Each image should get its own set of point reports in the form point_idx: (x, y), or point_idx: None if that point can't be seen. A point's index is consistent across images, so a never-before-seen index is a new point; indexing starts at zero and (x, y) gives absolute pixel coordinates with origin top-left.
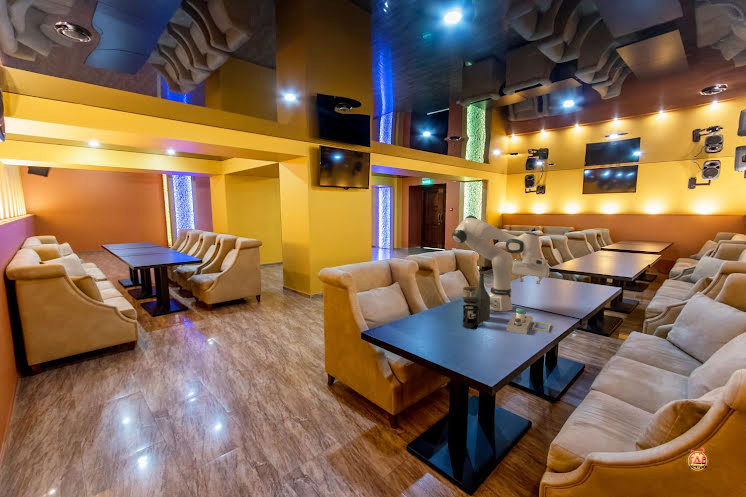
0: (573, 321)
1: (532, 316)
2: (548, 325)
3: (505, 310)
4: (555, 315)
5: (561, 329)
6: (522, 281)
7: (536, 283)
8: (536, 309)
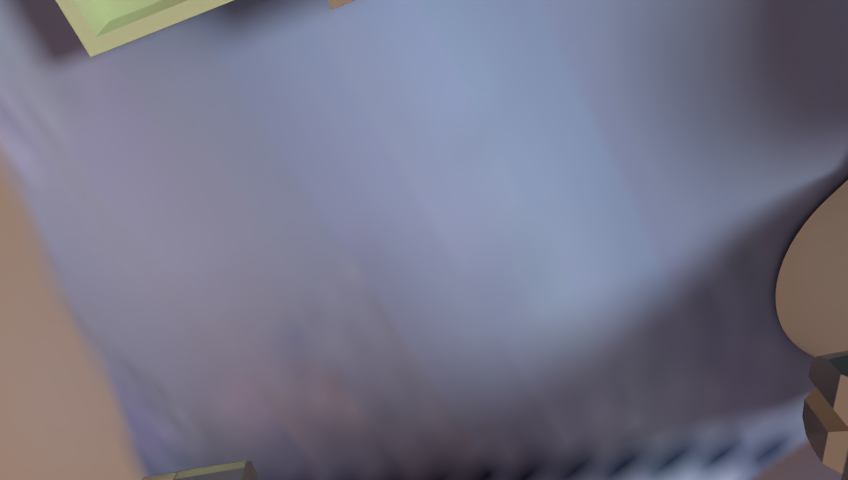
0: (129, 422)
1: (336, 6)
2: (113, 25)
3: (830, 200)
4: (347, 449)
5: (5, 100)
6: (828, 384)
7: (238, 467)
8: (570, 469)
